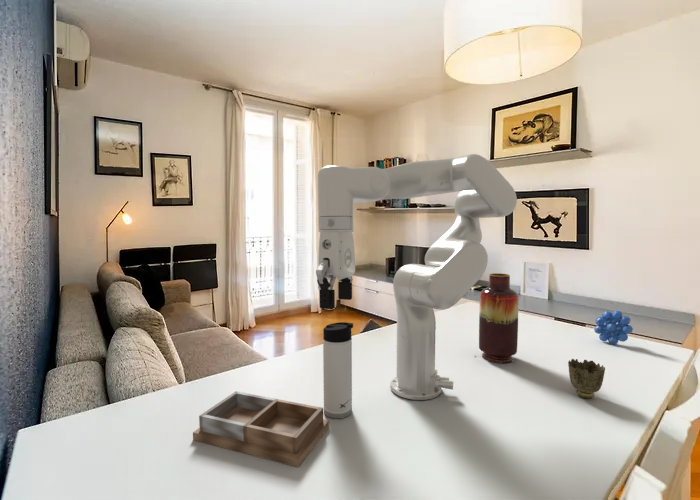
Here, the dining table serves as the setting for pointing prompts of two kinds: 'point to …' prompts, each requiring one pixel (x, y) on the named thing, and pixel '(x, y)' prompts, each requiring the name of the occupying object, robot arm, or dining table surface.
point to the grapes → (613, 327)
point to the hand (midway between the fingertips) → (336, 303)
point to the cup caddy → (263, 427)
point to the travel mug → (337, 369)
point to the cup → (586, 377)
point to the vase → (498, 320)
